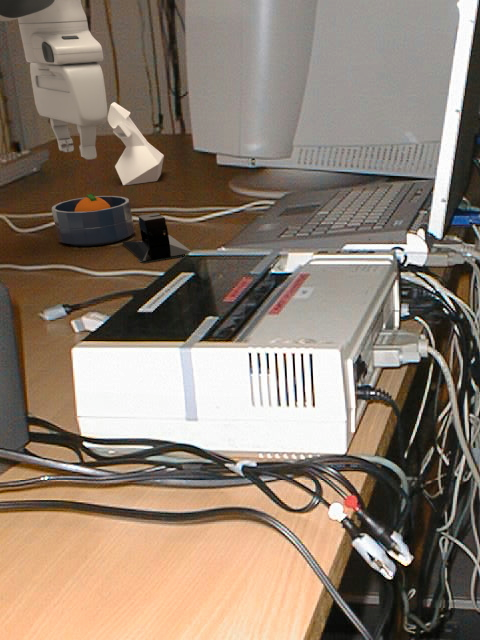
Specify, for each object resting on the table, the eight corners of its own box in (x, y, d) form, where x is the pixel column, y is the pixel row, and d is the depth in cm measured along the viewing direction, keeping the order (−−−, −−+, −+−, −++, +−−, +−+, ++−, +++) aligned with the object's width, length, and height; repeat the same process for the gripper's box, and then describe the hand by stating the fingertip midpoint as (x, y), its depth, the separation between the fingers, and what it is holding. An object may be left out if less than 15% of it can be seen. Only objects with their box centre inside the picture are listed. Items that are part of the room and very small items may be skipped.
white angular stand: (167, 170, 183) (156, 96, 176) (160, 184, 171) (147, 104, 164) (125, 173, 182) (112, 99, 175) (115, 187, 170) (100, 107, 163)
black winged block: (193, 255, 125) (188, 221, 122) (141, 264, 122) (135, 229, 120) (169, 236, 134) (164, 204, 132) (120, 244, 132) (114, 211, 129)
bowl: (74, 252, 129) (66, 216, 126) (49, 238, 137) (42, 204, 134) (146, 238, 134) (140, 203, 132) (119, 225, 142) (112, 192, 140)
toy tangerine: (85, 245, 132) (79, 206, 128) (71, 231, 136) (65, 192, 132) (122, 238, 135) (117, 199, 131) (107, 224, 138) (102, 187, 135)
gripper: (12, 46, 128) (33, 150, 135) (58, 49, 114) (80, 165, 121) (56, 43, 131) (75, 145, 138) (107, 46, 117) (125, 160, 124)
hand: (78, 155), depth 129 cm, fingers open, 8 cm apart
